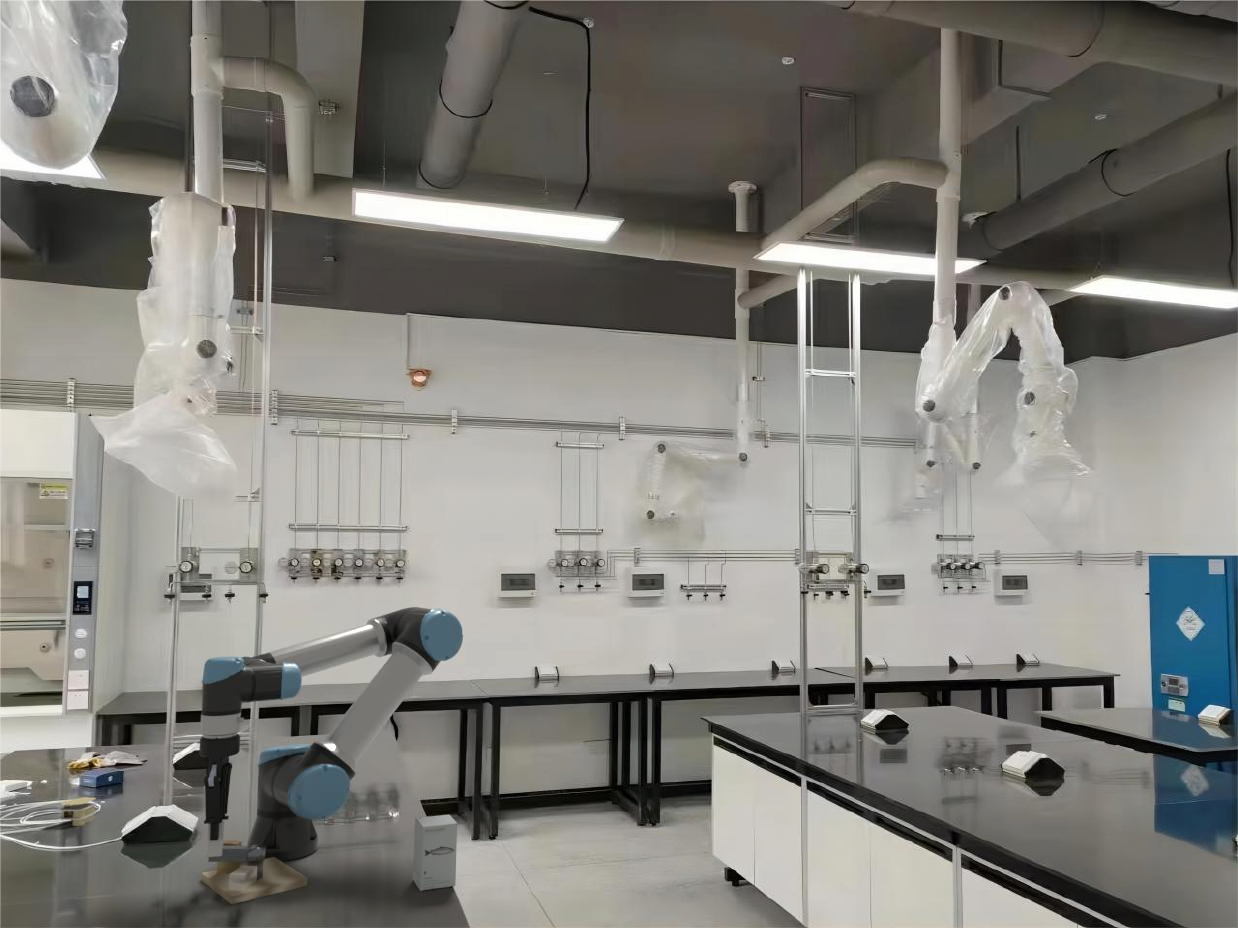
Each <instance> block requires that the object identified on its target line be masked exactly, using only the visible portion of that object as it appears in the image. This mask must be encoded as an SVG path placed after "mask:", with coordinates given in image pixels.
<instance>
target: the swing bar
mask: <svg viewBox="0 0 1238 928" xmlns="http://www.w3.org/2000/svg"><path fill="white" fill-rule="evenodd" d="M265 848H266V846H265V845H261V844H257V845H251V846H247V845H241V846H223V854H222V856H216V857H208V859H207V860H208V861H207V862H208V863H216V862H241V863H242V862H243V863H247V862H248V863H258V862H262V861H264V860H265Z"/></svg>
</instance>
